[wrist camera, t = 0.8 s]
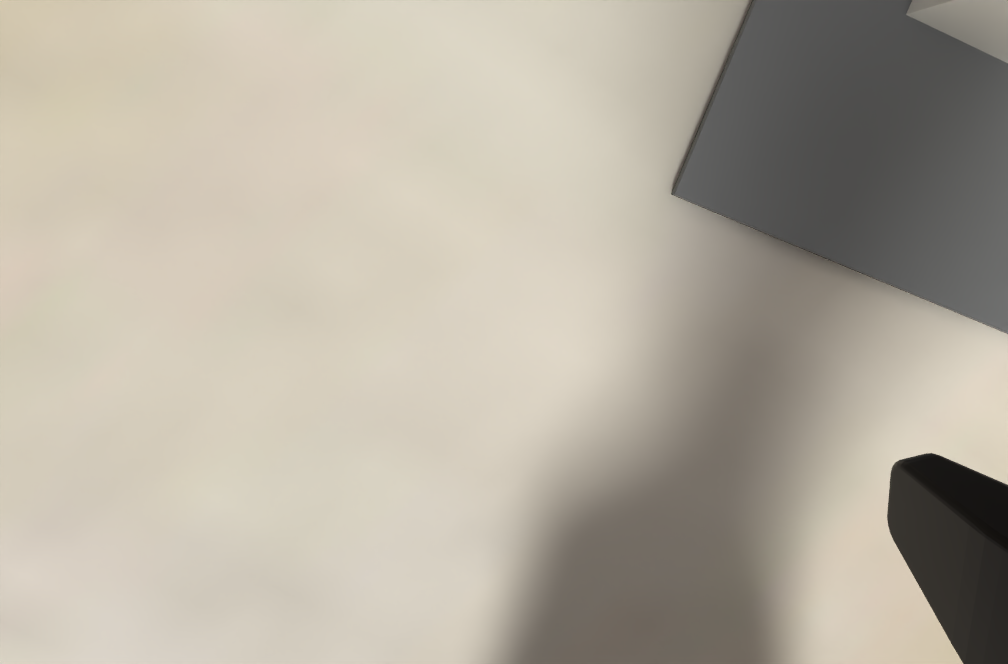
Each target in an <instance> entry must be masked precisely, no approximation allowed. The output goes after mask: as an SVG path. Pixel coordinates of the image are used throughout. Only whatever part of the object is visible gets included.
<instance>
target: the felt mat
mask: <svg viewBox="0 0 1008 664" xmlns="http://www.w3.org/2000/svg"><path fill="white" fill-rule="evenodd" d="M911 2H912V0H753V1H752V4H751V6H750V8H749V11H748V13H747V16H746V18H745V20H744V23H743V25H742V27H741V30H740V32H739V35H738V37H737V39H736V42H735V44H734V46H733V49H732V51H731V54H730V56H729V58H728V61H727V63H726V65H725V68H724V70H723V73H722V75H721V77H720V80H719V82H718V85H717V87H716V89H715V92H714V94H713V96H712V99H711V101H710V104H709V106H708V108H707V111H706V113H705V115H704V118H703V120H702V123H701V125H700V127H699V130H698V132H697V134H696V137H695V139H694V142H693V144H692V146H691V149H690V151H689V154H688V156H687V158H686V161H685V163H684V165H683V168H682V170H681V173H680V175H679V177H678V180H677V182H676V184H675V187H674V189H673V192H672V195H674V196H677V197H679V198H681V199H684V200H686V201H689V202H691V203H694V204H696V205H698V206H701V207H703V208H706V209H708V210H710V211H713V212H715V213H718V214H720V215H722V216H725V217H727V218H730V219H732V220H735V221H737V222H739V223H742V224H744V225H747V226H749V227H751V228H754V229H756V230H759V231H761V232H764V233H766V234H768V235H771V236H773V237H776V238H778V239H780V240H783V241H785V242H788V243H790V244H792V245H795V246H797V247H800V248H802V249H805V250H807V251H809V252H812V253H814V254H817V255H819V256H821V257H824V258H826V259H829V260H831V261H833V262H836V263H838V264H841V265H843V266H846V267H848V268H850V269H853V270H855V271H858V272H860V273H862V274H865V275H867V276H870V277H872V278H874V279H877V280H879V281H882V282H884V283H887V284H889V285H891V286H894V287H896V288H899V289H901V290H903V291H906V292H908V293H911V294H913V295H915V296H918V297H920V298H923V299H925V300H928V301H930V302H932V303H935V304H937V305H940V306H942V307H944V308H947V309H949V310H952V311H954V312H957V313H959V314H961V315H964V316H966V317H969V318H971V319H973V320H976V321H978V322H981V323H983V324H985V325H988V326H990V327H993V328H995V329H998V330H1000V331H1002V332H1005V333H1007V334H1008V63H1006V62H1004V61H1002V60H1000V59H998V58H996V57H994V56H991V55H989V54H987V53H985V52H983V51H981V50H979V49H977V48H975V47H973V46H971V45H968V44H966V43H964V42H962V41H960V40H958V39H956V38H954V37H952V36H950V35H948V34H945V33H943V32H941V31H939V30H937V29H935V28H933V27H931V26H929V25H927V24H924V23H922V22H920V21H918V20H916V19H914V18H912V17H910V16H908V15H906V13H907V11H908V9H909V6H910V4H911Z"/></svg>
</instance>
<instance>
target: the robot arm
mask: <svg viewBox="0 0 1008 664" xmlns="http://www.w3.org/2000/svg"><path fill="white" fill-rule="evenodd" d="M887 519H888V526H889V530H890V533H891V535H892V538H893V540H894V542H895V544H896V545H897V547H898V549H899V551H900V553H901V554H902V556H903V558H904V560H905V561H906V563H907V565H908V567H909V569H910V570H911V572H912V574H913V576H914V578H915V579H916V581H917V583H918V585H919V586H920V588H921V590H922V592H923V594H924V595H925V597H926V599H927V601H928V602H929V604H930V606H931V608H932V610H933V611H934V613H935V615H936V617H937V619H938V620H939V622H940V624H941V626H942V627H943V629H944V631H945V633H946V635H947V636H948V638H949V640H950V642H951V644H952V645H953V647H954V649H955V650H956V652H957V654H958V655H959V657H960V659H961V660H962V662H963V664H1008V485H1007V484H1004V483H1002V482H1000V481H997V480H995V479H993V478H990V477H988V476H986V475H983V474H981V473H979V472H977V471H974V470H972V469H970V468H967V467H965V466H963V465H960V464H958V463H956V462H954V461H951V460H949V459H947V458H944V457H942V456H939V455H936V454H932V453H930V454H923V455H918V456H914V457H910V458H906V459H902V460H899V461H897V462H896V463H895V464H894V465H893V467H892V470H891V477H890V489H889V502H888V514H887Z"/></svg>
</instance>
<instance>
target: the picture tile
mask: <svg viewBox="0 0 1008 664" xmlns="http://www.w3.org/2000/svg"><path fill="white" fill-rule="evenodd" d="M906 15H908V16H910V17H912V18H914V19H916V20H918V21H920V22H922V23H924V24H927V25H929V26H931V27H933V28H935V29H937V30H939V31H941V32H943V33H945V34H948V35H950V36H952V37H954V38H956V39H958V40H960V41H962V42H964V43H966V44H968V45H971V46H973V47H975V48H977V49H979V50H981V51H983V52H985V53H987V54H989V55H991V56H994V57H996V58H998V59H1000V60H1002V61H1004V62H1006V63H1008V0H912V2H911V4H910V6H909V9H908V11H907V13H906Z"/></svg>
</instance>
